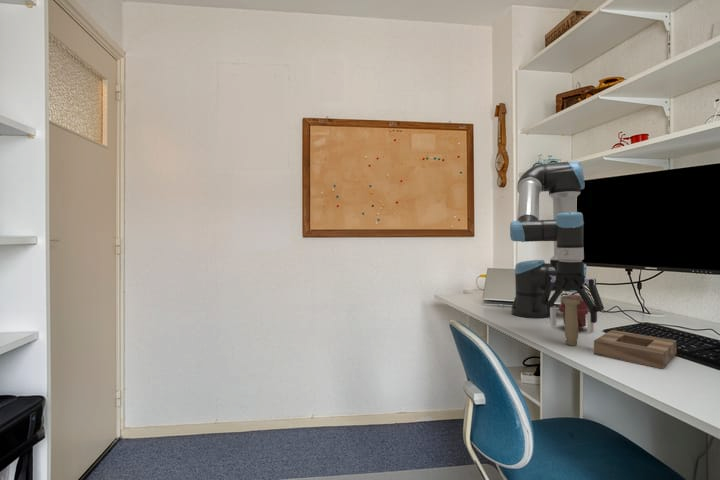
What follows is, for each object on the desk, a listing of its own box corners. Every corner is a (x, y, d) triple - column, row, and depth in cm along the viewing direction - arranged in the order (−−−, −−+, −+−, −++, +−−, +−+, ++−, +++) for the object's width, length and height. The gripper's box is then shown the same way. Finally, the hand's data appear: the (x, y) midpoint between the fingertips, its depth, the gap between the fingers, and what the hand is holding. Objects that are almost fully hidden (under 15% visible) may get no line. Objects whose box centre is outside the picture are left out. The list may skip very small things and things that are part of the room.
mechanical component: (584, 325, 138) (595, 333, 128) (555, 325, 140) (564, 332, 130) (583, 293, 138) (595, 298, 128) (554, 293, 140) (563, 298, 130)
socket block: (611, 342, 118) (611, 329, 118) (676, 354, 106) (676, 340, 106) (594, 354, 108) (593, 340, 108) (662, 368, 96) (662, 353, 95)
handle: (568, 347, 114) (567, 300, 114) (559, 341, 121) (558, 296, 120) (584, 347, 114) (583, 299, 113) (574, 341, 120) (573, 296, 120)
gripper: (528, 260, 123) (530, 325, 124) (607, 263, 105) (608, 339, 106) (539, 258, 128) (540, 321, 128) (616, 261, 110) (617, 334, 111)
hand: (571, 329), depth 117 cm, fingers open, 10 cm apart
